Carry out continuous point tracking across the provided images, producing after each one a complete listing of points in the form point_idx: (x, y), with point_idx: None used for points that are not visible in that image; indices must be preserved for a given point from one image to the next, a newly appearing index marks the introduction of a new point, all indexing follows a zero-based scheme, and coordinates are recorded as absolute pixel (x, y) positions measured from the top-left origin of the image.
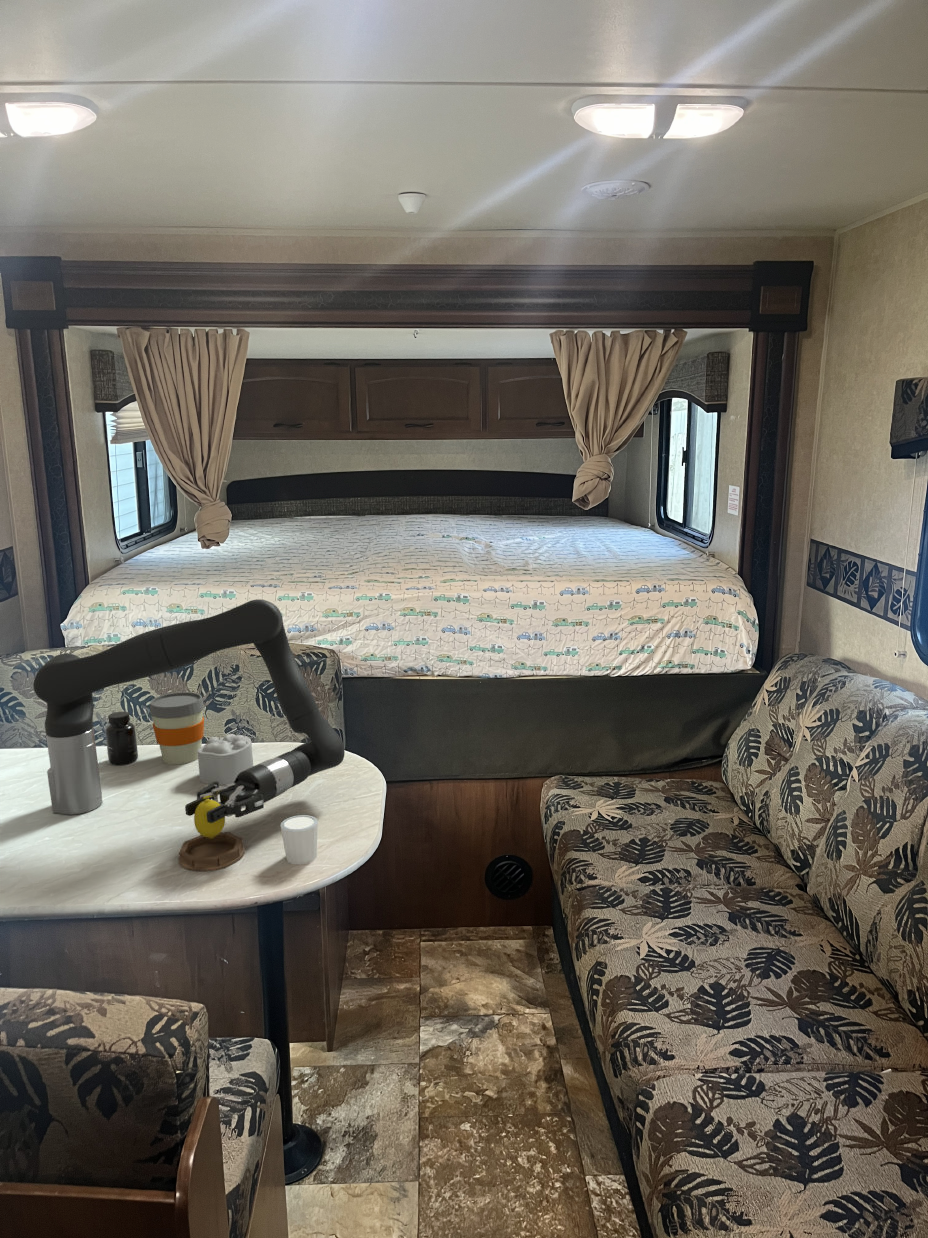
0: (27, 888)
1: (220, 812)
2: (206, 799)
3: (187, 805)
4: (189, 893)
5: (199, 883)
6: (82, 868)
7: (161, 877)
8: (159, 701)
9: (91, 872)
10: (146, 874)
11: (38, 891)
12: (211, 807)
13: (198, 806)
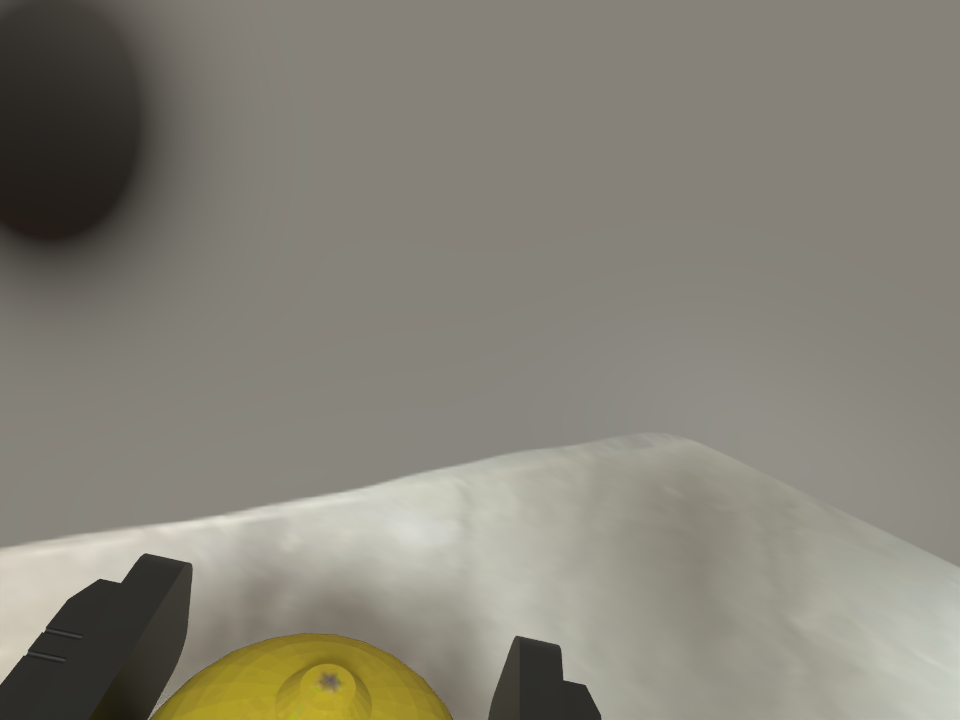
0: (774, 503)
1: (27, 655)
2: (341, 679)
3: (534, 640)
4: None
5: None
6: (803, 635)
7: None
8: None
9: (736, 620)
10: None
11: (727, 497)
12: (208, 676)
13: (404, 666)
